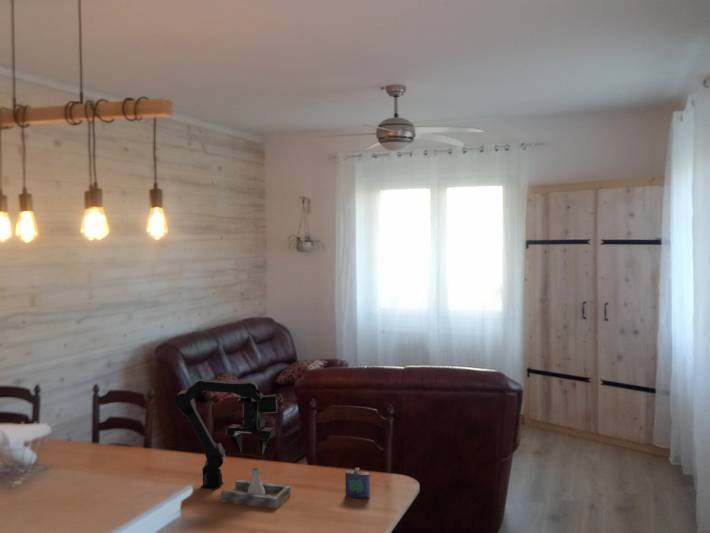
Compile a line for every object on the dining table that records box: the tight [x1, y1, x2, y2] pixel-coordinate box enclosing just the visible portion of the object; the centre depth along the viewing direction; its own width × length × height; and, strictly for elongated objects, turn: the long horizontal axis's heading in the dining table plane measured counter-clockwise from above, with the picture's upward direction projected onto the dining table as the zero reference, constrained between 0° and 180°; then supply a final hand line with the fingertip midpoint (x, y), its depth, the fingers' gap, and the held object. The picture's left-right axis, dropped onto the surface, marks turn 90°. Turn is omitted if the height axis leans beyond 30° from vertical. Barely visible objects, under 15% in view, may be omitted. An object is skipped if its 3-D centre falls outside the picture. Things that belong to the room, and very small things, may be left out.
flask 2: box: [344, 467, 371, 500], centre depth 232 cm, size 9×3×11 cm, turn 74°
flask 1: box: [247, 467, 266, 496], centre depth 231 cm, size 7×7×10 cm
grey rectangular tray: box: [220, 479, 292, 510], centre depth 231 cm, size 22×12×4 cm, turn 72°
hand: (251, 453), depth 245 cm, fingers open, 9 cm apart
